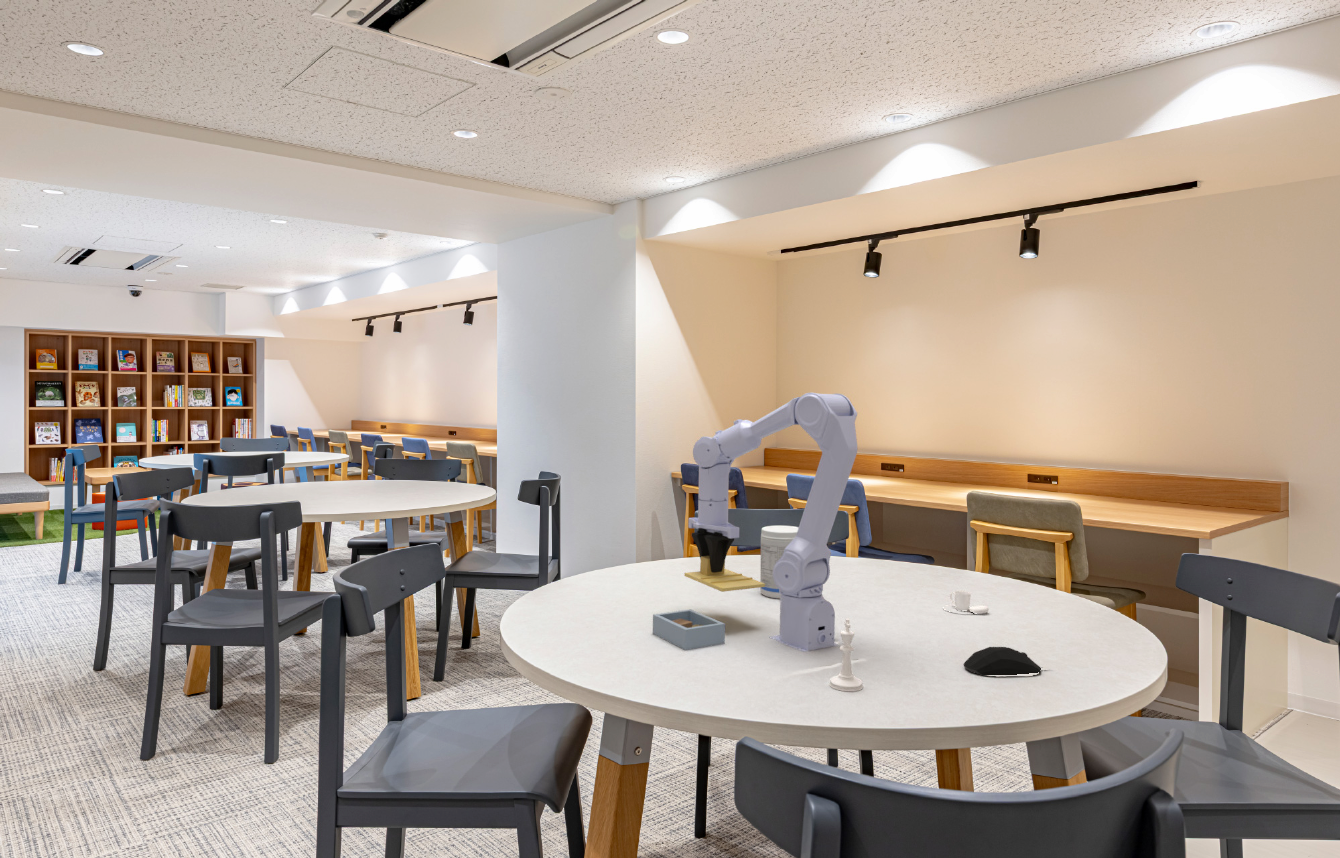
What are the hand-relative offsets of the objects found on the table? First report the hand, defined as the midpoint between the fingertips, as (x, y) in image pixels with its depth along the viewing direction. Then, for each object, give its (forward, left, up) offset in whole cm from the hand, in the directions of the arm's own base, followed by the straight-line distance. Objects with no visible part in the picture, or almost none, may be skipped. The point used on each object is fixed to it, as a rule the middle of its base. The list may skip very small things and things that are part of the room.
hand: (712, 570), depth 154 cm
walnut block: (-8, +12, -9) cm, 17 cm away
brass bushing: (-12, +10, -9) cm, 18 cm away
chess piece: (-39, +2, -10) cm, 40 cm away
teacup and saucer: (-19, -49, -11) cm, 54 cm away
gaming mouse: (-46, -26, -10) cm, 54 cm away
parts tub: (-9, +11, -10) cm, 17 cm away
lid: (-4, 0, -1) cm, 4 cm away
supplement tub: (+11, -26, -10) cm, 30 cm away
